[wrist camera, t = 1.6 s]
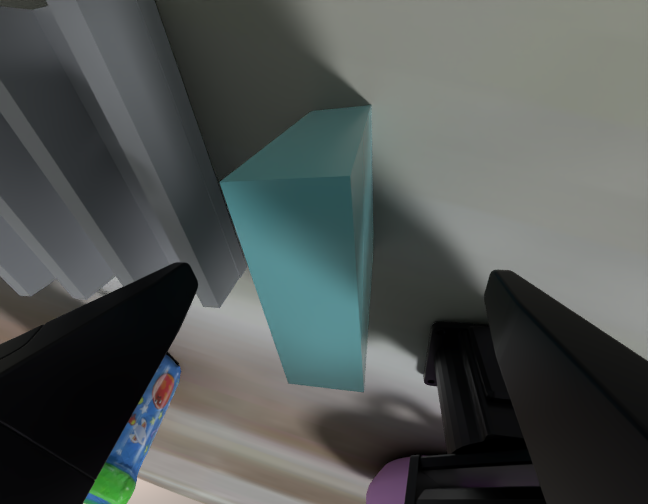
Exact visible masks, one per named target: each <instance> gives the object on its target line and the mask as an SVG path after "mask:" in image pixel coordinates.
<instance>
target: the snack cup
mask: <svg viewBox="0 0 648 504" xmlns="http://www.w3.org/2000/svg"><path fill="white" fill-rule="evenodd" d="M180 373H181V370H180V366H178V365H177V364H176V363H175V362H174V361H173V360H172V359H171V358H170V357H169V356H168V355H165V357H164V359H163V360H162V362H161V364H160V366H159V368H158V369H157V371H156V373H155V375H154V376H153V378H152V380H151V382H150V384H149V385H148V387H147V389H146V391H145V393H144V394H143V396H142V398H141V400H140V402H139V403H138V405H137V407H136V409H135V411H134V412H133V414H132V416H131V418H130V419H129V421H128V423H127V425H126V427H125V428H124V430H123V432H122V434H121V436H120V437H119V439H118V441H117V443H116V445H115V446H114V448H113V450H112V452H111V454H110V455H109V457H108V459H107V461H106V462H105V464H104V466H103V468H102V470H101V471H100V473H99V475H98V477H97V479H96V480H95V483H94V485H93V486H92V488H91V490H90V492H89V494H88V495H87V497H86V499H85V501H84V502H83V503H85V504H126V503H127V502H128V500H129V499H130V497H131V496H132V493H133V491H134V489H135V486H136V481H137V475H138V472H139V469H140V467H141V465H142V462H143V460H144V458H145V456H146V455H147V453H148V451H149V448H150V446H151V444H152V442H153V439H154V437H155V435H156V433H157V431H158V429H159V426H160V424H161V422H162V420H163V418H164V415H165V412H166V410H167V408H168V406H169V404H170V401H171V399H172V397H173V395H174V393H175V390H176V388H177V385H178V383H179V380H180Z"/></svg>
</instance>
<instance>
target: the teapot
mask: <svg viewBox="0 0 648 504" xmlns="http://www.w3.org/2000/svg"><path fill="white" fill-rule="evenodd" d="M422 456H426V455H422ZM409 462H410V457H405V458H400V459H396V460H393V461H391V462H389V463H387V464H386V465H385V466H384V467H383V468H382V469H381V470H380V471H379V473H378V474H377V475H376V476H375V478H374V479H373V480H372V482H371V483H370V485H369V488H368V491H367V494H366V504H404V502H405V494H406V486H407V478H408V470H409Z"/></svg>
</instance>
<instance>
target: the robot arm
mask: <svg viewBox="0 0 648 504" xmlns="http://www.w3.org/2000/svg"><path fill="white" fill-rule="evenodd" d="M197 289H198V280H197V278H196V276H195V274H194V272H193V270H192V268H191V266H190V265H189V264H188V263H186V262H175V263H172V264H170V265H168V266H166V267H164V268H162V269H160V270H158V271H155V272H153V273H151V274H149V275H147V276H145V277H143V278H141V279H138V280H136V281H134V282H132V283H130V284H128V285H126V286H124V287H122V288H119V289H117V290H115V291H113V292H111V293H109V294H107V295H105V296H102V297H100V298H98V299H96V300H94V301H92V302H90V303H88V304H86V305H83V306H81V307H79V308H77V309H75V310H73V311H71V312H69V313H66V314H64V315H62V316H60V317H58V318H56V319H54V320H52V321H50V322H47V323H46V324H45V325H41V326H39V327H37V328H35V329H33V330H30V331H28V332H26V333H24V334H22V335H20V336H17V337H15V338H13V339H11V340H9V341H7V342H4V343H2V344H0V504H83V502H84V501H85V499H86V497H87V495H88V494H89V492H90V490H91V488H92V486H93V485H94V483H95V480H96V479H97V477H98V475H99V473H100V471H101V470H102V468H103V466H104V464H105V462H106V461H107V459H108V457H109V455H110V454H111V452H112V450H113V448H114V446H115V445H116V443H117V441H118V439H119V437H120V436H121V434H122V432H123V430H124V428H125V427H126V425H127V423H128V421H129V419H130V418H131V416H132V414H133V412H134V411H135V409H136V407H137V405H138V403H139V402H140V400H141V398H142V396H143V394H144V393H145V391H146V389H147V387H148V385H149V384H150V382H151V380H152V378H153V376H154V375H155V373H156V371H157V369H158V368H159V366H160V364H161V362H162V360H163V359H164V357H165V355H166V353H167V351H168V350H169V348H170V346H171V344H172V342H173V341H174V339H175V337H176V335H177V333H178V332H179V330H180V328H181V325H182V323H183V321H184V319H185V317H186V314H187V312H188V310H189V307H190V305H191V303H192V301H193V298H194V296H195V294H196V292H197ZM484 302H485V307H486V312H487V316H488V321H489V325H484V324H468V323H452V322H436V323H434V324H432V326H431V331H430V337H429V344H428V350H427V356H426V363H425V369H424V375H423V377H424V383H425V384H427V385H430V386H437V388H438V394H439V401H440V408H441V414H442V421H443V428H444V434H445V441H446V448H447V454H446V455H434V456H422V455H411V456H410V462H409V470H408V478H407V486H406V494H405V502H404V504H648V361H647V360H646V359H644V358H642V357H641V356H639V355H638V354H636V353H635V352H633V351H632V350H630V349H629V348H627V347H626V346H624V345H623V344H621V343H620V342H618V341H617V340H615V339H614V338H612V337H611V336H609V335H608V334H606V333H605V332H603V331H602V330H600V329H599V328H597V327H596V326H594V325H593V324H591V323H590V322H588V321H587V320H585V319H584V318H582V317H581V316H579V315H578V314H576V313H575V312H573V311H572V310H570V309H569V308H567V307H566V306H564V305H563V304H561V303H559V302H558V301H556V300H555V299H553V298H552V297H550V296H549V295H547V294H546V293H544V292H543V291H541V290H540V289H538V288H537V287H535V286H534V285H532V284H531V283H529V282H528V281H526V280H525V279H523V278H522V277H520V276H519V275H517V274H516V273H514V272H513V271H510V270H493V271H492V272H491V273H490V276H489V280H488V283H487V287H486V290H485V294H484Z"/></svg>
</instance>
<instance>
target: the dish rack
mask: <svg viewBox="0 0 648 504" xmlns="http://www.w3.org/2000/svg"><path fill="white" fill-rule="evenodd" d="M46 2H47V4H48V6H45V7H41V8H37V9H33V10H29V9H21V8H12V7H4V6H0V277H1V278H2V279H3V280H4V281H5V282H6V283H7V284H8V285H9V286H11V287H12V288H13V289H14V290H15V291H16V292H17V293H18V294H19V295H20V296H32V295H34V294H35V293H37V292H38V291H40V290H41V289H43V288H44V287H45V286H47V285H48V284H50V283H51V282H53V281H54V280H56V279H57V280H58V281H59V282H60V283H61V285H62V286H63V287H64V288H65V289H66V290H67V292H68V293H69V294H70V295H71V296H72V297H73V298H74V299H84V300H87V299H88V298H89V297H91V296H92V295H93V294H94V293H96V292H97V291H98V290H99V289H100V288H102V287H103V286H104V285H105V284H106V283H108V282H109V281H110V280H111V279H113V278H114V277H115V276H116V277H117V278H118V280H119V281H120V283H121V284H122V285H123V287H124V286H126V285H128V284H130V283H132V282H134V281H136V280H138V279H141V278H143V277H145V276H147V275H149V274H151V273H153V272H155V271H158V270H160V269H162V268H164V267H166V266H168V265H170V264H172V263H175V262H186V263H188V264H189V265H190V266H191V268H192V270H193V272H194V274H195V276H196V278H197V280H198V289H197V292H196V294H197V296H198V298H199V299H200V301H201V303H202V305H203V307H214V308H220V307H221V305H222V304H223V302H224V301H225V299H226V298H227V296H228V295H229V293H230V291H231V290H232V288H233V287H234V285H235V284H236V282H237V281H238V279H239V278H240V277H241V276H242V274H243V273H244V271H245V270H246V268H247V266H246V263H245V260H244V257H243V254H242V251H241V248H240V246H239V243H238V240H237V237H236V234H235V231H234V228H233V225H232V223H231V220H230V217H229V214H228V211H227V208H226V205H225V202H224V199H223V197H222V194H221V191H220V188H219V185H218V182H217V179H216V176H215V174H214V171H213V168H212V165H211V162H210V159H209V156H208V153H207V150H206V148H205V145H204V142H203V139H202V136H201V133H200V130H199V127H198V125H197V122H196V119H195V116H194V113H193V110H192V107H191V104H190V101H189V99H188V96H187V93H186V90H185V87H184V84H183V81H182V78H181V76H180V73H179V70H178V67H177V64H176V61H175V58H174V55H173V52H172V50H171V47H170V44H169V41H168V38H167V35H166V32H165V29H164V27H163V24H162V21H161V18H160V15H159V12H158V9H157V6H156V3H155V1H154V0H46Z"/></svg>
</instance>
